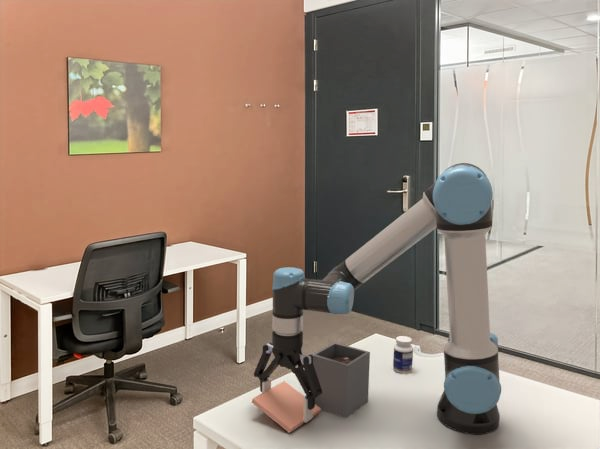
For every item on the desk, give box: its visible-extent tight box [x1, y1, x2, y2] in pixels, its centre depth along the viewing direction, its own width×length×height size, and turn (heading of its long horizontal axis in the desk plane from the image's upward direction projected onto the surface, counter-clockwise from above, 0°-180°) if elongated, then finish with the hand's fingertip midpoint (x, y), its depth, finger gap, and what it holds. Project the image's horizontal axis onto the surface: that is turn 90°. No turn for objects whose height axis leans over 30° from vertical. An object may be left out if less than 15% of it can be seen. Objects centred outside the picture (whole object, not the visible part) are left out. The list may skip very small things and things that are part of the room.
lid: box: [251, 380, 322, 434], centre depth 141 cm, size 13×13×2 cm
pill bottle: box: [392, 335, 414, 374], centre depth 170 cm, size 6×6×10 cm
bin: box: [311, 342, 371, 419], centre depth 148 cm, size 11×11×14 cm
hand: (286, 412), depth 142 cm, fingers closed on lid, 12 cm apart
